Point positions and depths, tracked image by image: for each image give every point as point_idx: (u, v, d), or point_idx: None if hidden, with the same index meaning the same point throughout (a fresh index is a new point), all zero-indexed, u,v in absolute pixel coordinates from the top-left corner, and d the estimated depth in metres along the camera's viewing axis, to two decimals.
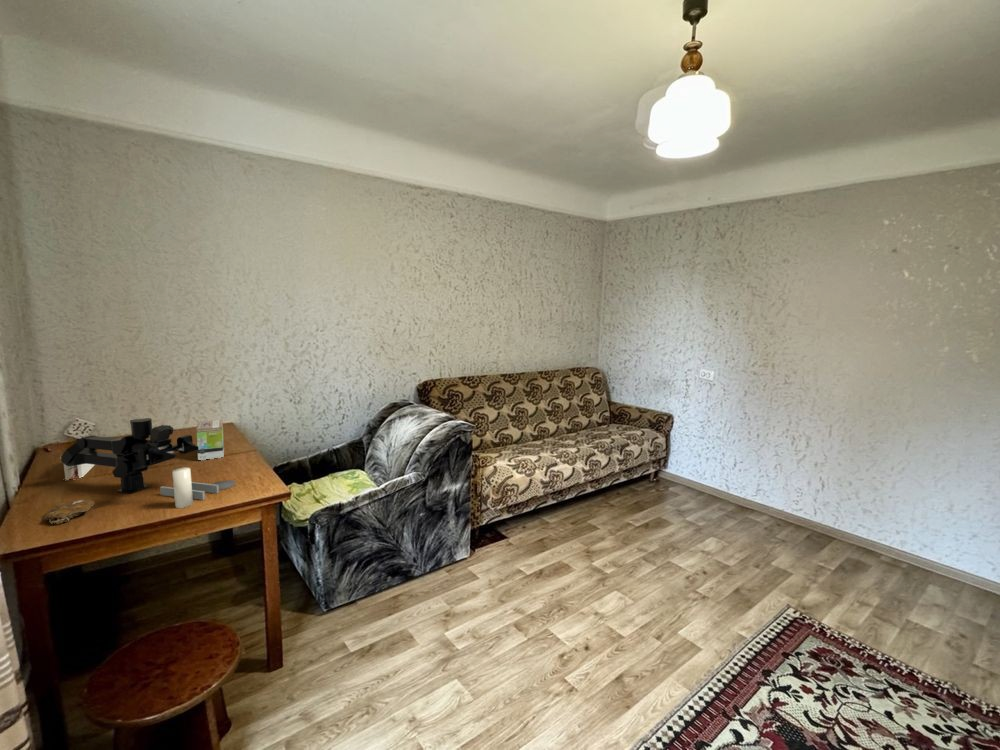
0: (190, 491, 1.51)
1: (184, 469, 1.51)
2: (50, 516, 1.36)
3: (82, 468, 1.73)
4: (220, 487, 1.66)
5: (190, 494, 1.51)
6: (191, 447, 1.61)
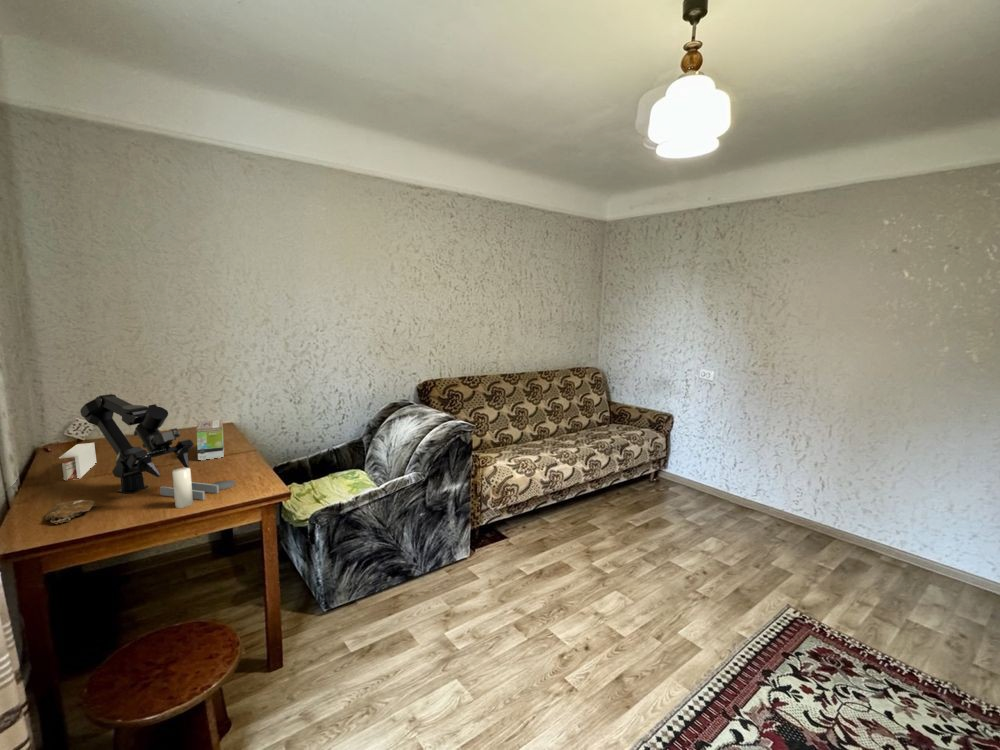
0: (190, 491, 1.51)
1: (184, 468, 1.51)
2: (51, 516, 1.36)
3: (81, 468, 1.73)
4: (220, 487, 1.66)
5: (190, 494, 1.51)
6: (183, 461, 1.56)
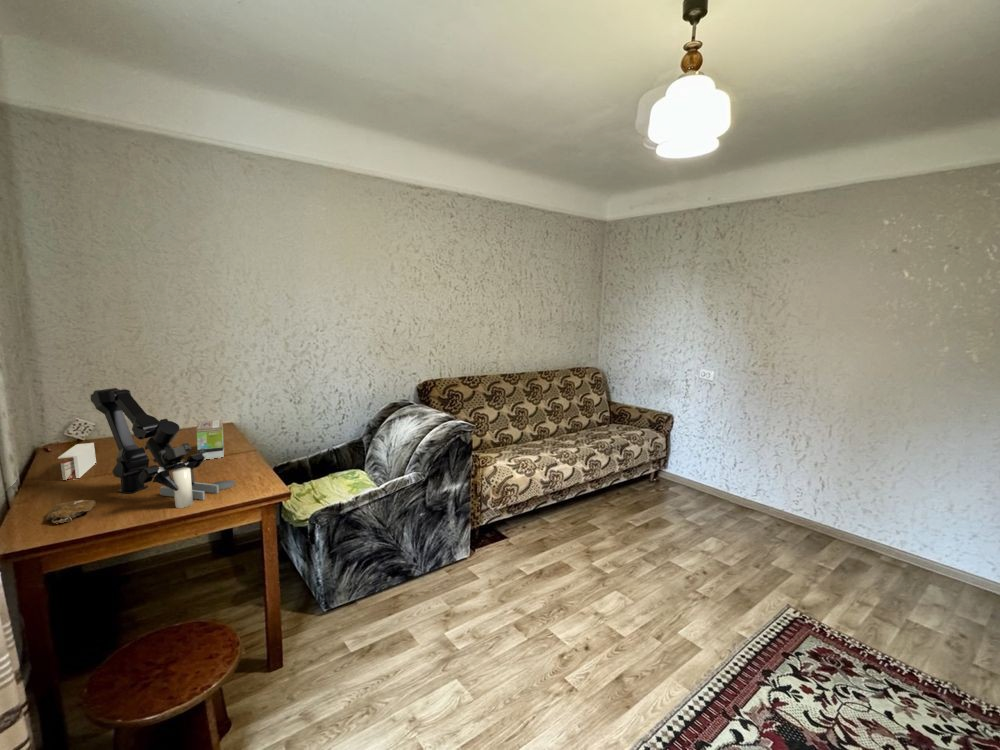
0: (190, 491, 1.51)
1: (184, 468, 1.51)
2: (53, 516, 1.36)
3: (79, 468, 1.73)
4: (220, 487, 1.66)
5: (190, 494, 1.51)
6: None
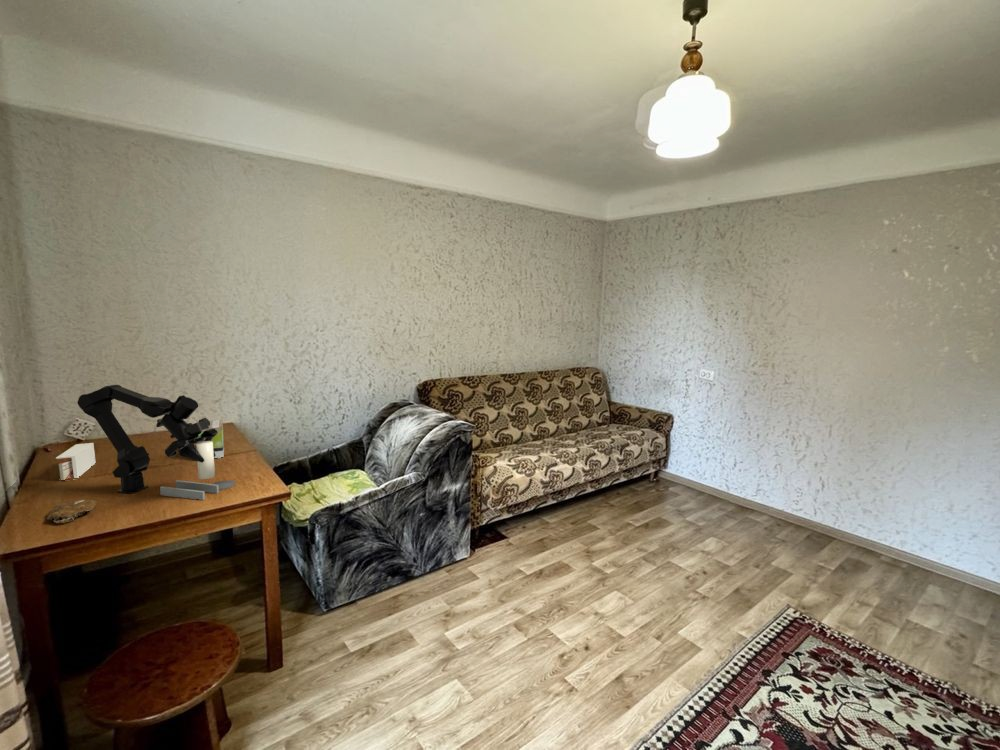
0: (213, 462, 1.59)
1: (206, 442, 1.58)
2: (55, 516, 1.36)
3: (78, 469, 1.72)
4: (220, 487, 1.66)
5: (213, 465, 1.59)
6: None
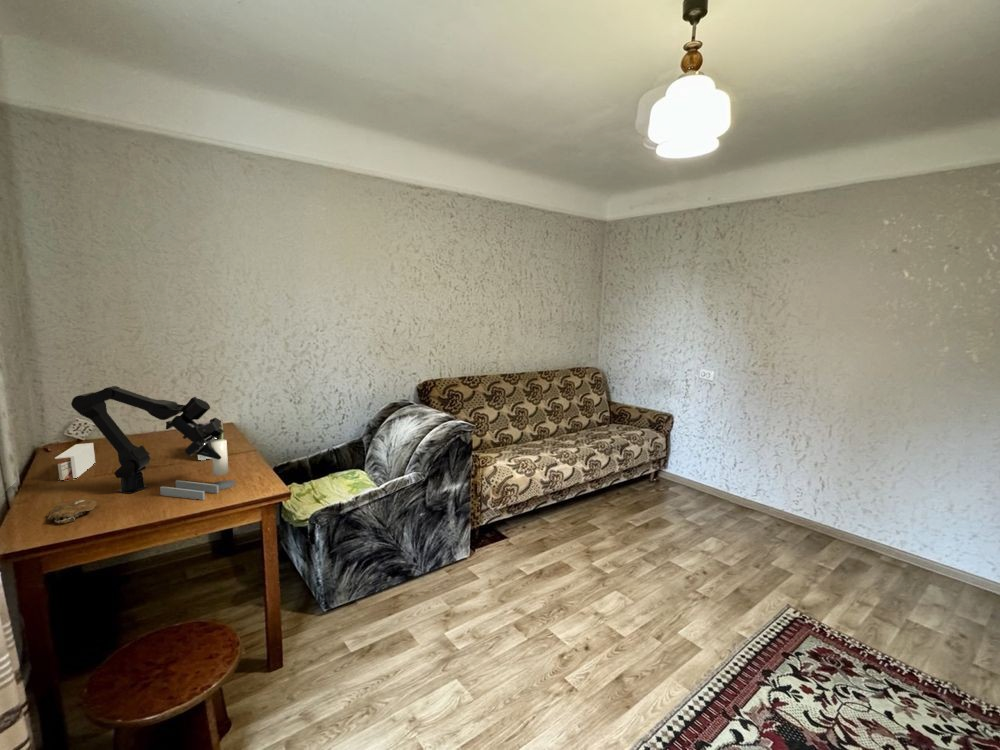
0: (227, 459, 1.68)
1: (219, 440, 1.67)
2: (56, 516, 1.36)
3: (77, 469, 1.72)
4: (220, 487, 1.66)
5: (227, 462, 1.68)
6: None
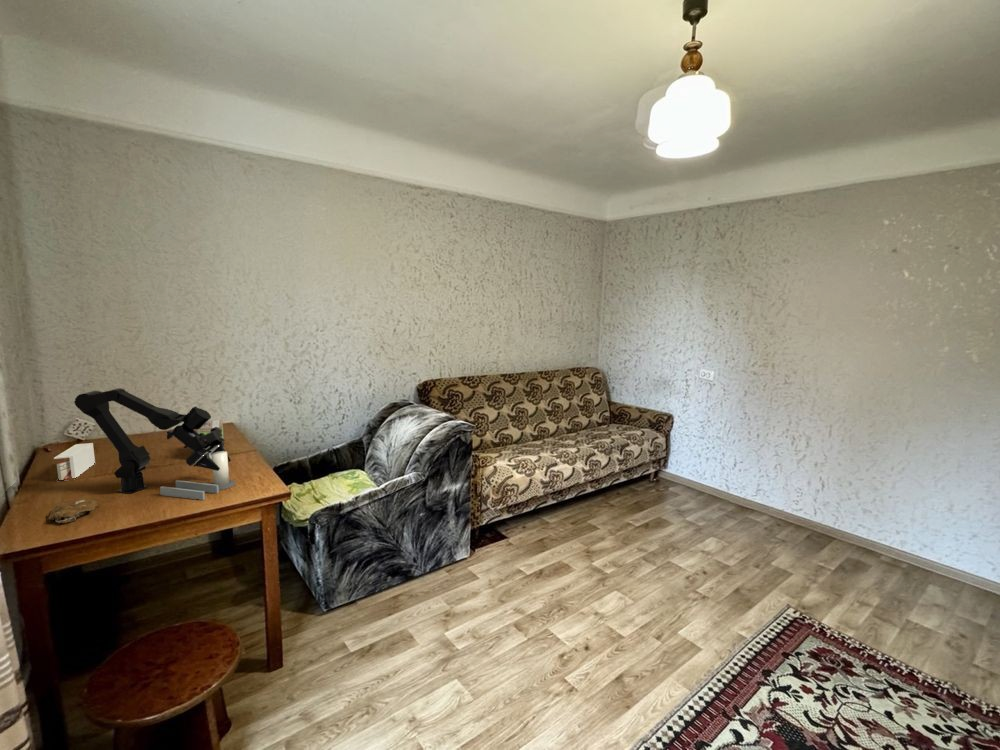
0: (228, 471, 1.69)
1: (220, 452, 1.67)
2: (57, 516, 1.36)
3: (75, 469, 1.72)
4: (220, 487, 1.66)
5: (228, 473, 1.69)
6: None
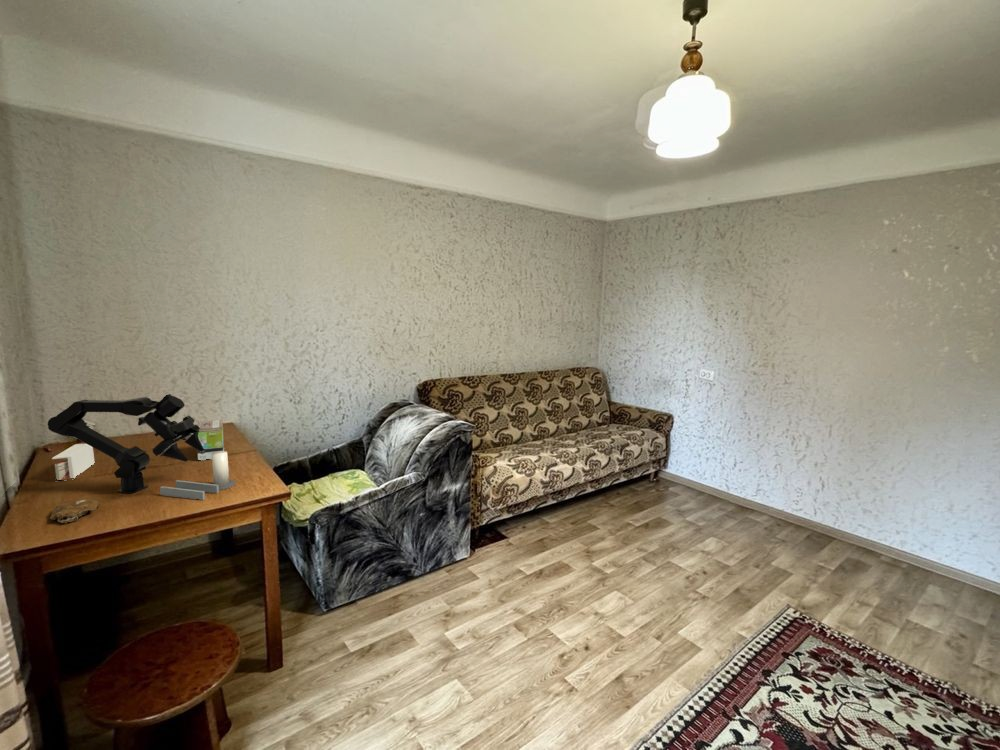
0: (228, 471, 1.69)
1: (220, 452, 1.67)
2: (59, 515, 1.37)
3: (74, 469, 1.72)
4: (220, 487, 1.66)
5: (228, 473, 1.69)
6: (196, 445, 1.68)
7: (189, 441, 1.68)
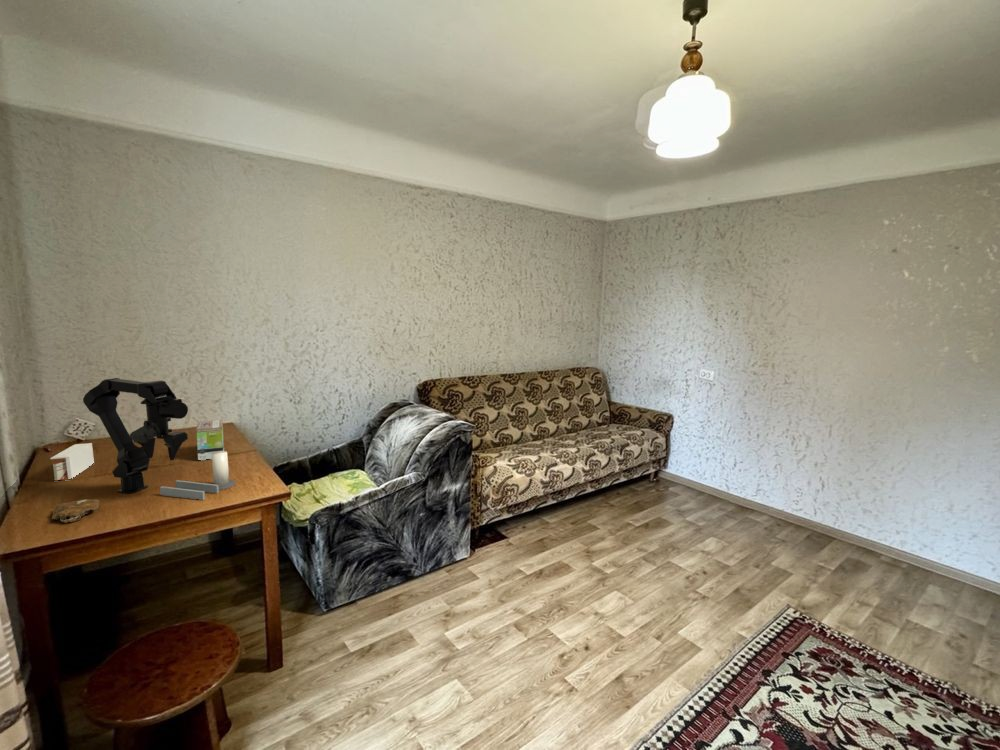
0: (228, 471, 1.69)
1: (220, 452, 1.67)
2: (62, 515, 1.37)
3: (72, 469, 1.72)
4: (220, 487, 1.66)
5: (228, 473, 1.69)
6: None
7: None
